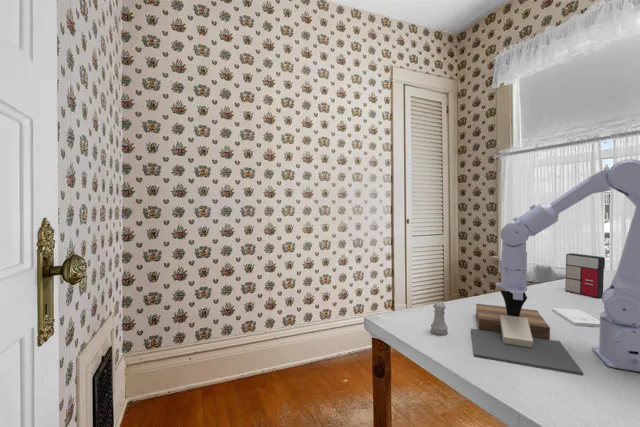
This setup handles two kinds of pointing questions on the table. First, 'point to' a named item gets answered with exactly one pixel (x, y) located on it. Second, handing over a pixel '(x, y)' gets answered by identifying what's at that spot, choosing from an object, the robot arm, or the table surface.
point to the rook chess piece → (439, 320)
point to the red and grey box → (585, 274)
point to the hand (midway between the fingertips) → (512, 319)
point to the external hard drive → (577, 317)
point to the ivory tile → (516, 331)
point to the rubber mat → (524, 352)
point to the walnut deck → (491, 314)
